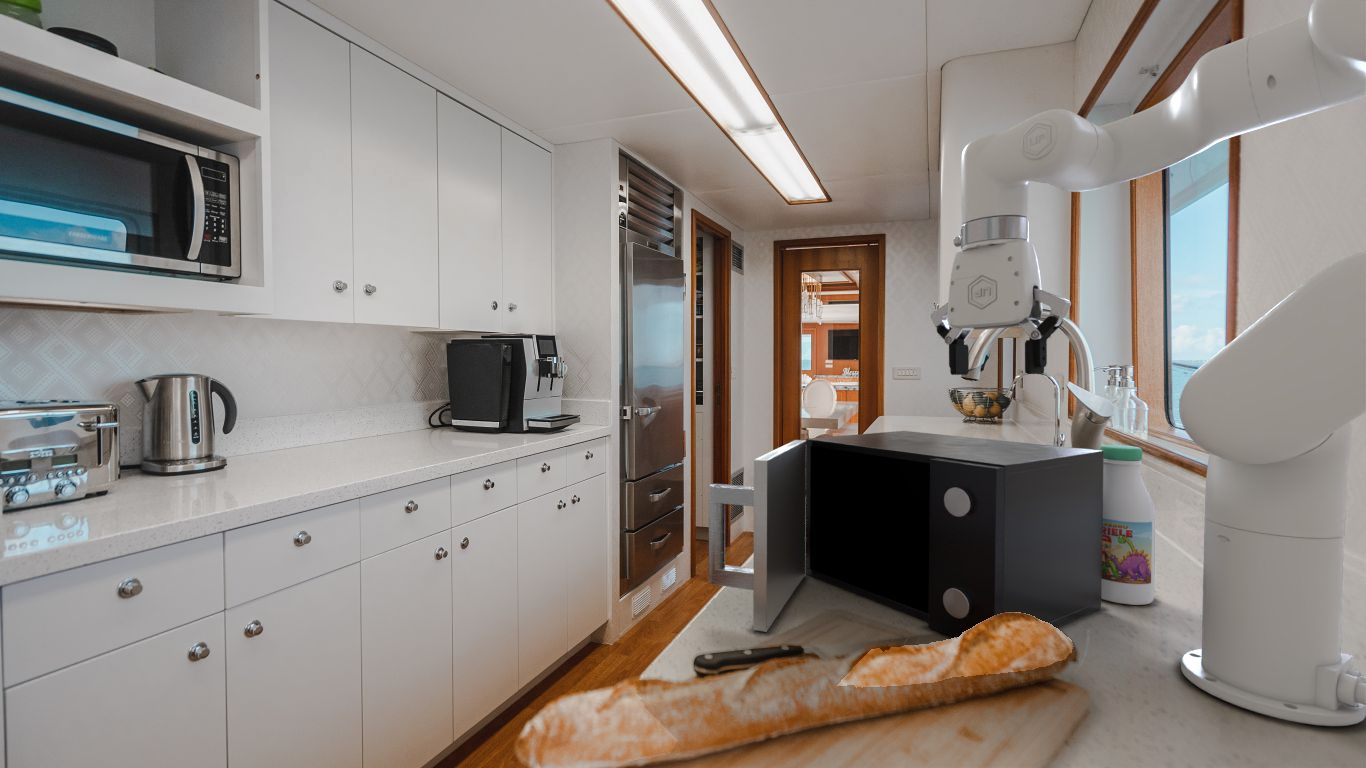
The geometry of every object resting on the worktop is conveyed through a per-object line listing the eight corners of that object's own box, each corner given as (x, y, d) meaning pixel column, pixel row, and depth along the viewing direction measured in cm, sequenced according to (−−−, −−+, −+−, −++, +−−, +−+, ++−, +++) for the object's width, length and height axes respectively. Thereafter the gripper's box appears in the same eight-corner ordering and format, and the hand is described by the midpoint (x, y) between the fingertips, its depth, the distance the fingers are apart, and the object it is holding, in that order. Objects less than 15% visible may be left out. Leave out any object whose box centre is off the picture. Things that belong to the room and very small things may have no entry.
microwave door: (700, 621, 74) (700, 456, 74) (751, 568, 94) (752, 438, 94) (766, 632, 71) (767, 460, 71) (805, 574, 91) (806, 440, 91)
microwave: (989, 656, 66) (991, 467, 65) (793, 576, 91) (793, 439, 90) (1101, 608, 79) (1103, 450, 78) (902, 550, 104) (903, 430, 103)
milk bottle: (1091, 581, 89) (1094, 441, 88) (1159, 595, 83) (1162, 446, 83) (1077, 595, 83) (1079, 446, 83) (1148, 611, 78) (1151, 451, 77)
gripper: (916, 247, 84) (916, 375, 84) (1052, 219, 69) (1052, 373, 69) (949, 253, 88) (949, 374, 88) (1083, 227, 73) (1084, 373, 74)
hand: (995, 374), depth 79 cm, fingers open, 9 cm apart
